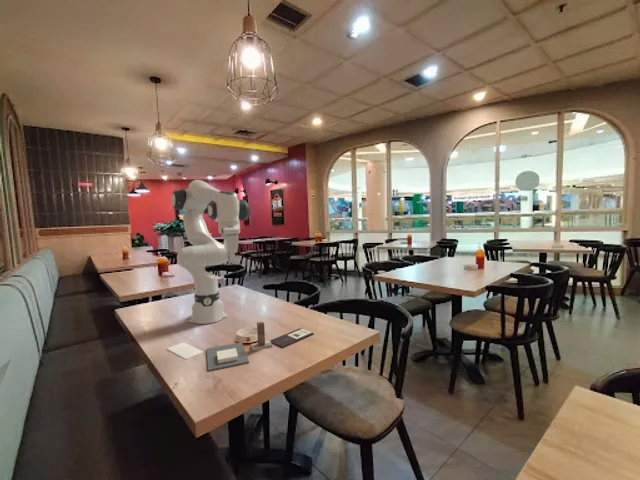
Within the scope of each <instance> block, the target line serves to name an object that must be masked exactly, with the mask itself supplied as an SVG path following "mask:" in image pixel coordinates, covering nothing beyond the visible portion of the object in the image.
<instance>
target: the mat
mask: <svg viewBox="0 0 640 480" xmlns="http://www.w3.org/2000/svg"><path fill="white" fill-rule="evenodd" d="M233 348H236V351H237V354H238V360H235V361H230V362H225V363H220V364H218V359H217V351H222V350H228V349H233ZM206 359H207V360H206V361H207V372H213V371H218V370H222V369H227V368H230V367H237V366H240V365H246V364H249V363H250V361H249V358H248V355H247V351H246V350H245V347H244V345H243V342H242V341H240V342H236V343H230V344H224V345H219V346H213V347H208V348H206Z"/></svg>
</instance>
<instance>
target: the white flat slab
mask: <svg viewBox="0 0 640 480" xmlns="http://www.w3.org/2000/svg"><path fill="white" fill-rule="evenodd" d="M167 351H169V352H170V353H172V354H175V356H178V357H180V358H183V360H189V359H191V358H194V357H196V356H198V355H202V354H203V350H201V349H198V348H196V347H195V346H192V345H191V344H188V343H186V342H181V343H178V344H174V345H173V346H169V347H168V348H167Z"/></svg>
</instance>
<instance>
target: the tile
mask: <svg viewBox="0 0 640 480" xmlns="http://www.w3.org/2000/svg"><path fill="white" fill-rule="evenodd" d="M217 359H218V364H220V363H225V362H230V361H235V360H238V354H237V351H236V348H233V349H228V350H222V351H217Z"/></svg>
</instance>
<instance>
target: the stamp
mask: <svg viewBox="0 0 640 480" xmlns="http://www.w3.org/2000/svg"><path fill="white" fill-rule="evenodd" d="M256 330H257V333H256V334H257V342H256V343H251V344H250V347H251V350H252V351H258V350H263V349H267V348H272V347H273V344H272V343H271V342H270V340H266V336H265V335H266V334H265V333H266V331H265V322H264V321H257V322H256Z"/></svg>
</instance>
